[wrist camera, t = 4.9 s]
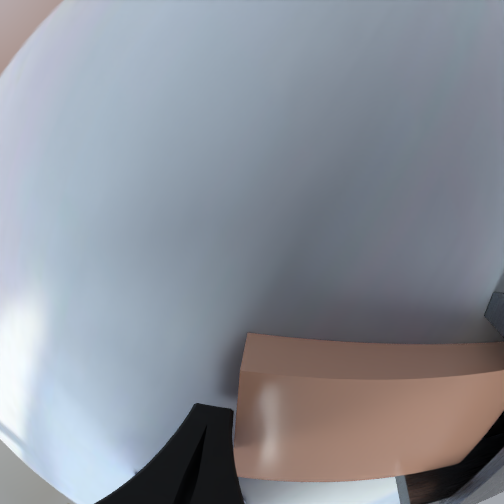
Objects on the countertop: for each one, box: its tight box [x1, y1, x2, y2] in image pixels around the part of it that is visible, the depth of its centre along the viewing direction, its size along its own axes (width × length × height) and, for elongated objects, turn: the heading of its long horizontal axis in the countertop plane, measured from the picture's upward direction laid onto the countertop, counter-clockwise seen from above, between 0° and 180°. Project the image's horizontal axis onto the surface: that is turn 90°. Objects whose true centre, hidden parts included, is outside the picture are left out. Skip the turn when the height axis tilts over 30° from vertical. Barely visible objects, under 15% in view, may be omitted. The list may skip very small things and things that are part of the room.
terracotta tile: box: [233, 333, 504, 482], centre depth 10 cm, size 7×12×2 cm, turn 85°
